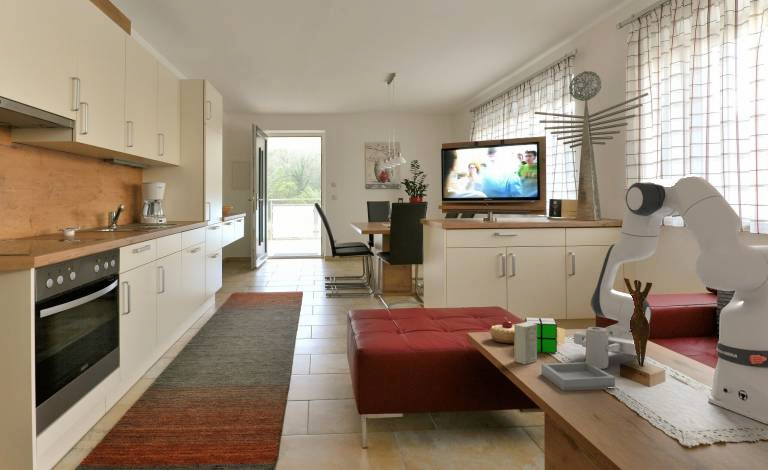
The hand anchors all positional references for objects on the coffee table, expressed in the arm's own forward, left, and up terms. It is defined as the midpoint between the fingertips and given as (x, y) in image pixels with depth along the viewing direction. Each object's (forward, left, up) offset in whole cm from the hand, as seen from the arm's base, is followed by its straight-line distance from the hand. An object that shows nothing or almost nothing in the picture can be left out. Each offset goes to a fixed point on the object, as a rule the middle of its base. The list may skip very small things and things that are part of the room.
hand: (595, 346), depth 154 cm
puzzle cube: (+24, +7, -7) cm, 26 cm away
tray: (-10, +11, -7) cm, 17 cm away
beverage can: (+1, -1, -7) cm, 7 cm away
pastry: (+35, +15, -7) cm, 39 cm away
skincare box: (+10, +18, -7) cm, 22 cm away
